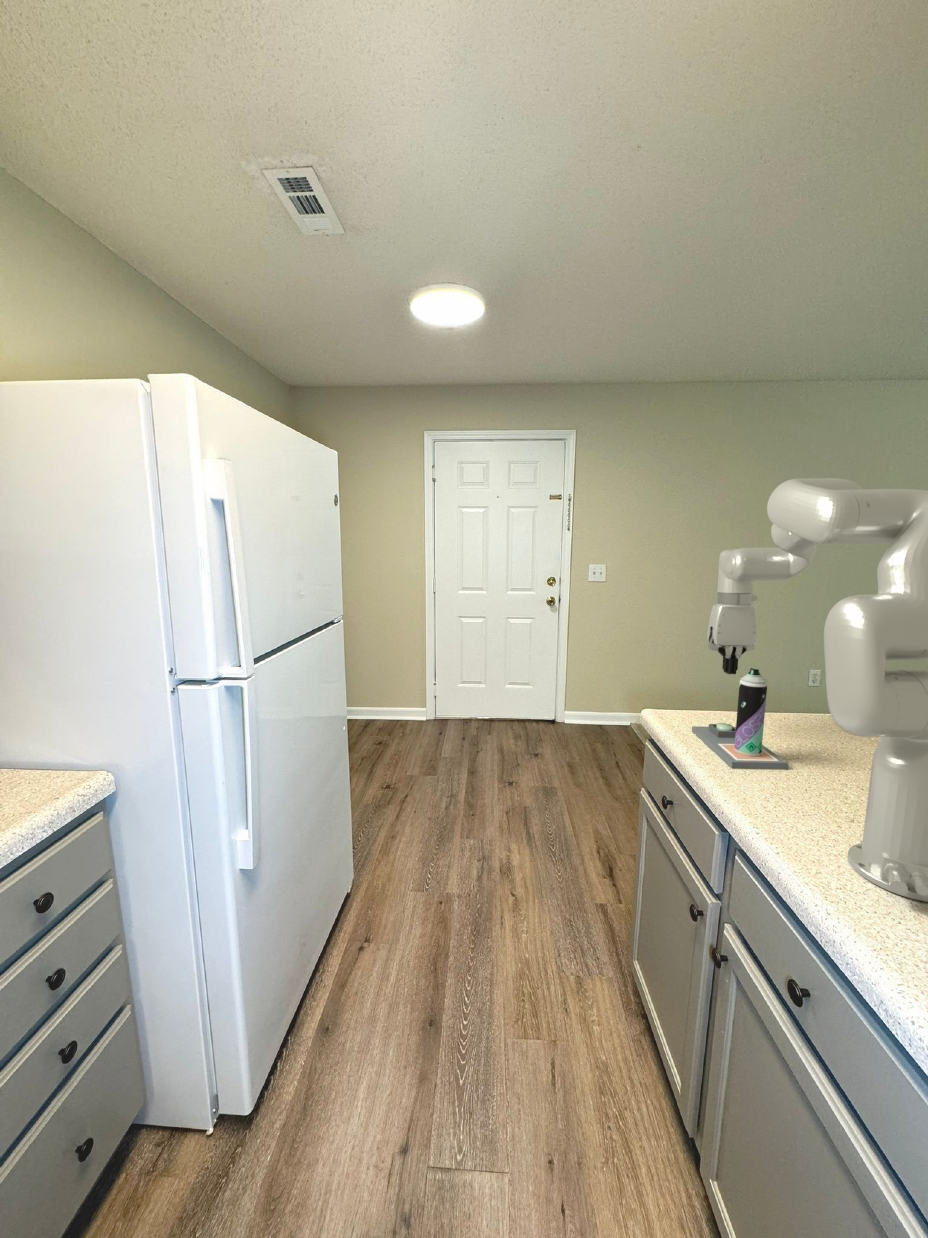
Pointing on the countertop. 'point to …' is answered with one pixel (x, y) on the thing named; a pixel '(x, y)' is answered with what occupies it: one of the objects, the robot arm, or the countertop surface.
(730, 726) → the button
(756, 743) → the spray can
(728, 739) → the picture board
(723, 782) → the countertop surface
